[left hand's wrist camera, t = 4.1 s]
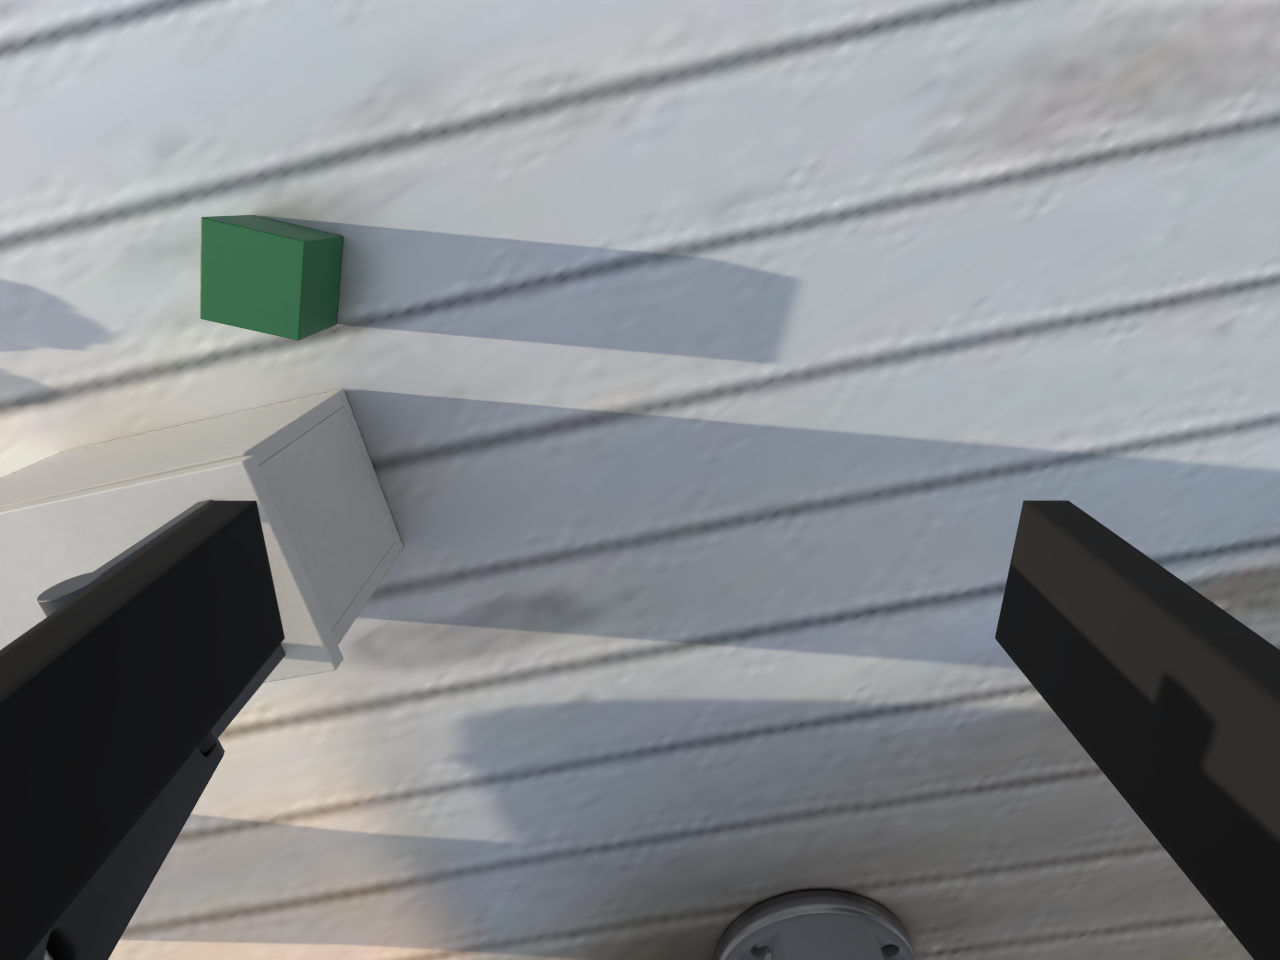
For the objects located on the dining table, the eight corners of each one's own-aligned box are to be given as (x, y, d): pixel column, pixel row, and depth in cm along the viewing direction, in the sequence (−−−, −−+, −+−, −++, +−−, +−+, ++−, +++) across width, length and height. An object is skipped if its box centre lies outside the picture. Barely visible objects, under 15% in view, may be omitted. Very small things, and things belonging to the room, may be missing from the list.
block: (343, 236, 37) (304, 240, 33) (336, 324, 39) (298, 341, 35) (251, 214, 37) (200, 216, 33) (248, 305, 39) (199, 319, 34)
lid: (254, 453, 29) (95, 555, 21) (344, 658, 33) (238, 813, 25) (-131, 535, 31) (-413, 656, 23) (-7, 720, 35) (-213, 882, 27)
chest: (344, 388, 40) (243, 453, 30) (404, 547, 44) (333, 653, 34) (59, 451, 42) (-130, 534, 31) (139, 601, 45) (-6, 719, 35)
